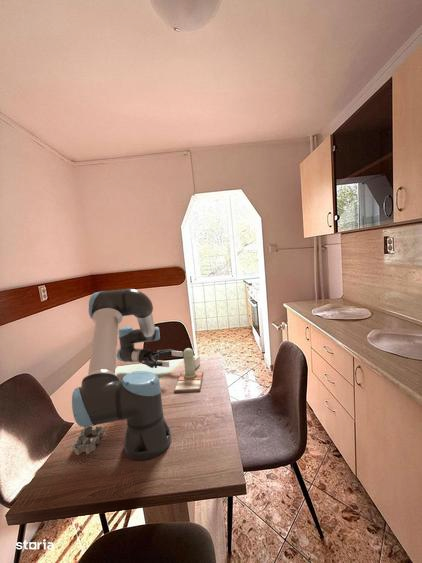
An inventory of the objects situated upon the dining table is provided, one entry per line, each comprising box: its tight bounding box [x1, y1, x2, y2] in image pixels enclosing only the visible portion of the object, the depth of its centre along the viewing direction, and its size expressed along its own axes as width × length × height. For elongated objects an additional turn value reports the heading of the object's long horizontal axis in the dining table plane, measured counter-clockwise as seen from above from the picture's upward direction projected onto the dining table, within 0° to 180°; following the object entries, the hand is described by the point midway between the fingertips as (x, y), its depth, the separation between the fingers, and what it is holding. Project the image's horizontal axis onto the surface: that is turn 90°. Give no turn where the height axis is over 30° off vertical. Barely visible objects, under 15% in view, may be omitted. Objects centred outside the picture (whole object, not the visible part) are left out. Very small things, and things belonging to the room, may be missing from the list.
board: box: [173, 371, 204, 394], centre depth 127 cm, size 18×12×1 cm, turn 177°
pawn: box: [182, 347, 198, 379], centre depth 131 cm, size 6×6×14 cm
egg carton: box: [71, 425, 105, 456], centre depth 89 cm, size 11×8×4 cm
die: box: [194, 355, 201, 369], centre depth 146 cm, size 5×5×5 cm
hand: (175, 358), depth 134 cm, fingers open, 13 cm apart
